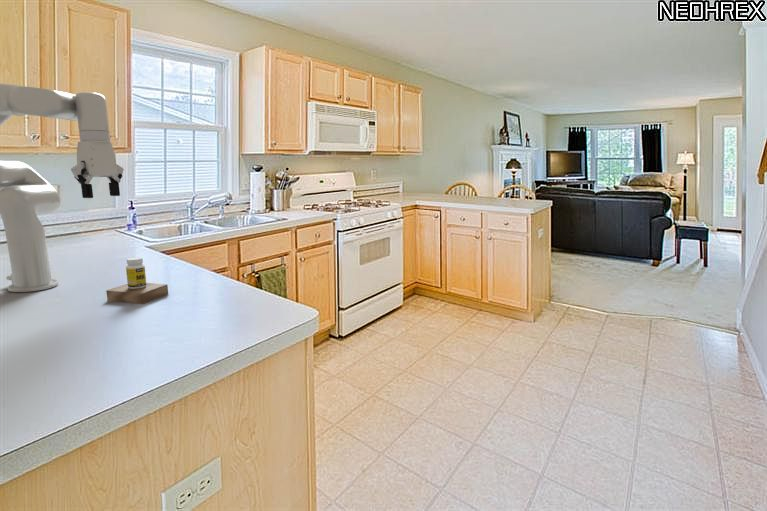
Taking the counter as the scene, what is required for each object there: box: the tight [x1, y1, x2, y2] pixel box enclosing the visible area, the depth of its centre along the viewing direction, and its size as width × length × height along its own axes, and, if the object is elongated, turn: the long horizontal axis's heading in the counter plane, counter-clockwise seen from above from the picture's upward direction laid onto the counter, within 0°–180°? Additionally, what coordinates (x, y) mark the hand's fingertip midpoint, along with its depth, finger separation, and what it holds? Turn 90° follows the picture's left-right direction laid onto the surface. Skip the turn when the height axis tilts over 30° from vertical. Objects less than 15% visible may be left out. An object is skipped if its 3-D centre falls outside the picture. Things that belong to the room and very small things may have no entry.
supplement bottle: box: [125, 256, 147, 289], centre depth 132 cm, size 5×5×8 cm
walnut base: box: [105, 282, 169, 305], centre depth 133 cm, size 12×10×3 cm
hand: (102, 196), depth 137 cm, fingers open, 9 cm apart
